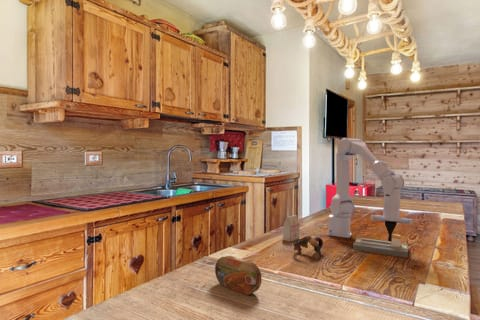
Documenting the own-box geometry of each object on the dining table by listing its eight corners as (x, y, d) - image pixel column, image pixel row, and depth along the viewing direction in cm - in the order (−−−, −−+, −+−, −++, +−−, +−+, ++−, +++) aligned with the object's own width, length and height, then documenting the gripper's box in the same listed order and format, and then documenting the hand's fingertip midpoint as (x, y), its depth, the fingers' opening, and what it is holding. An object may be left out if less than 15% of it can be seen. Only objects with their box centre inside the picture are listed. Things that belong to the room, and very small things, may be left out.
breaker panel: (352, 249, 127) (353, 243, 127) (356, 241, 138) (356, 235, 138) (407, 257, 119) (408, 250, 119) (407, 248, 129) (407, 242, 129)
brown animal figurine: (312, 263, 112) (301, 241, 114) (296, 267, 120) (285, 246, 121) (333, 249, 119) (322, 228, 121) (317, 253, 127) (306, 234, 128)
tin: (214, 282, 94) (214, 253, 93) (221, 279, 96) (222, 251, 96) (255, 299, 84) (256, 267, 84) (263, 295, 86) (263, 263, 86)
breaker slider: (391, 246, 125) (391, 236, 125) (391, 243, 128) (392, 233, 128) (400, 247, 123) (400, 237, 123) (400, 245, 127) (400, 234, 127)
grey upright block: (282, 239, 139) (283, 216, 139) (292, 237, 144) (293, 214, 144) (289, 241, 137) (290, 218, 136) (299, 238, 141) (300, 215, 141)
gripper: (370, 205, 126) (369, 240, 126) (413, 209, 119) (411, 246, 120) (372, 202, 132) (370, 236, 133) (412, 206, 126) (411, 241, 126)
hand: (390, 240), depth 127 cm, fingers closed, pressing on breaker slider
